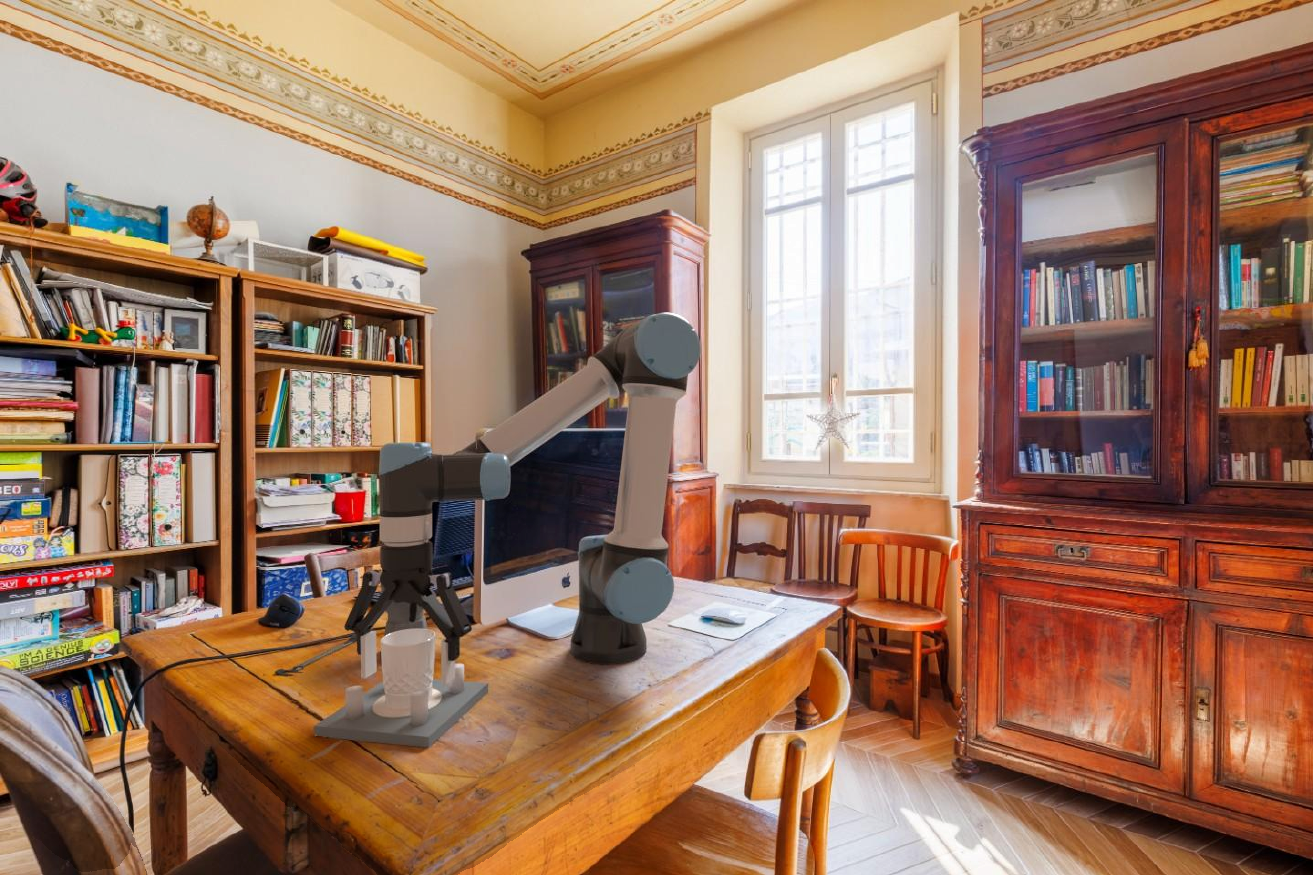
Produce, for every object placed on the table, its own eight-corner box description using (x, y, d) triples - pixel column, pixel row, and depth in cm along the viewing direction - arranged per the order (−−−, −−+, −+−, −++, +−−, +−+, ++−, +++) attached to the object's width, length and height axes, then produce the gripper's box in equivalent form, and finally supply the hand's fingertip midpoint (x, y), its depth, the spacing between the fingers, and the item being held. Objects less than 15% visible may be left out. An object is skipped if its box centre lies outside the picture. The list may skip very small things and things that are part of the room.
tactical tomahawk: (303, 684, 106) (303, 678, 106) (272, 677, 108) (272, 671, 108) (383, 641, 127) (383, 636, 127) (356, 636, 128) (357, 631, 128)
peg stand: (488, 691, 100) (487, 659, 100) (428, 747, 83) (428, 707, 83) (391, 684, 104) (390, 652, 104) (314, 736, 86) (313, 698, 86)
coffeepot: (375, 645, 122) (374, 558, 122) (423, 637, 128) (422, 552, 127) (388, 671, 110) (387, 572, 109) (441, 660, 115) (440, 566, 114)
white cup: (391, 690, 97) (391, 629, 97) (441, 688, 98) (441, 627, 97) (372, 713, 89) (372, 646, 89) (427, 711, 90) (426, 644, 90)
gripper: (492, 539, 94) (493, 673, 95) (351, 535, 99) (353, 663, 99) (469, 548, 87) (470, 693, 87) (318, 543, 92) (319, 682, 92)
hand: (408, 677), depth 93 cm, fingers open, 13 cm apart
